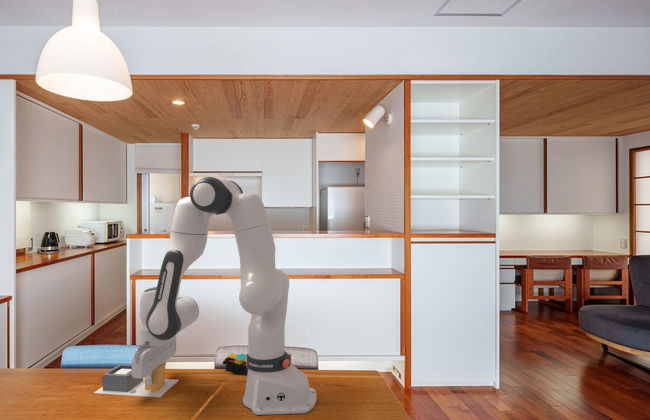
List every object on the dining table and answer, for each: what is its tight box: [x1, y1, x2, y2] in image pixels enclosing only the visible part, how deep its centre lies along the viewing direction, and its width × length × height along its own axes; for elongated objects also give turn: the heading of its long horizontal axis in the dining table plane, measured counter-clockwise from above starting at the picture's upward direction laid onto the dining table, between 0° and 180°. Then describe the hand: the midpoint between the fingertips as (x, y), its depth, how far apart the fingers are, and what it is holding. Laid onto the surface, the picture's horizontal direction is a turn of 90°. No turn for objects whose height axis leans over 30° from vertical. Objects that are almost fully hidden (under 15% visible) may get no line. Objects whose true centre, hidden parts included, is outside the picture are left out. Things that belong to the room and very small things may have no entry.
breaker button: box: [114, 369, 132, 375], centre depth 127 cm, size 4×4×4 cm
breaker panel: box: [93, 363, 180, 398], centre depth 127 cm, size 22×12×6 cm, turn 83°
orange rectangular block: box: [145, 363, 166, 391], centre depth 126 cm, size 4×4×7 cm
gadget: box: [222, 352, 248, 375], centre depth 140 cm, size 6×13×6 cm, turn 77°
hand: (155, 380), depth 126 cm, fingers closed on orange rectangular block, 4 cm apart
